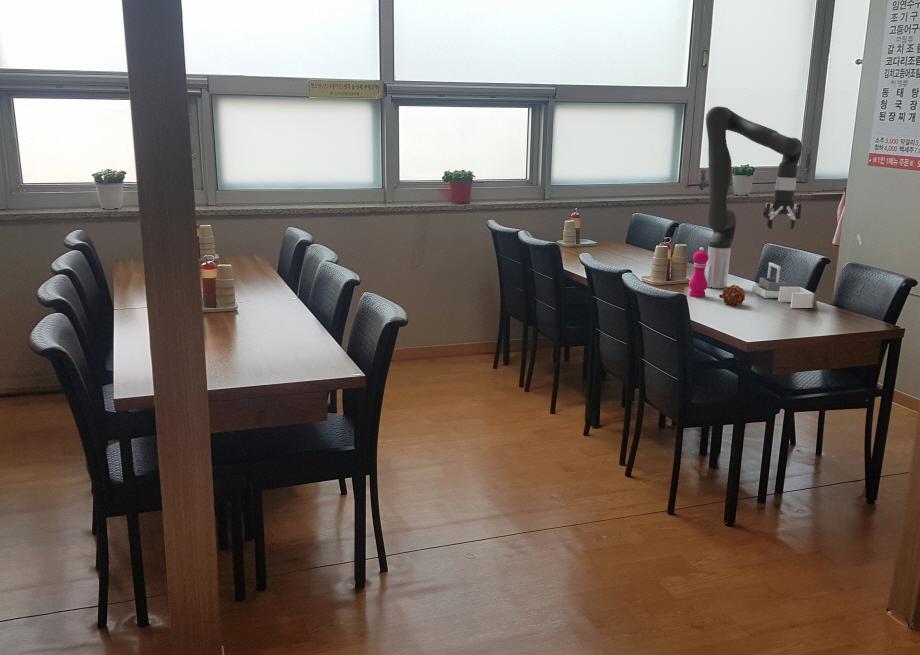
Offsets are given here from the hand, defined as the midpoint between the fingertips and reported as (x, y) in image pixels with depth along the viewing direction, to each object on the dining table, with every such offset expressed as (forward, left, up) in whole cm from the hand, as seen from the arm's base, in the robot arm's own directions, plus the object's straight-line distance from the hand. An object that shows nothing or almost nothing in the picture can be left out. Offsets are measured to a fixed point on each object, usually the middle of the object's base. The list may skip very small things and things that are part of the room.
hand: (780, 229), depth 325 cm
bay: (+1, -19, -27) cm, 33 cm away
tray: (-1, -1, -27) cm, 27 cm away
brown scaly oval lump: (-24, -20, -28) cm, 42 cm away
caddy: (-1, -1, -26) cm, 26 cm away
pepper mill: (-33, -5, -27) cm, 43 cm away
